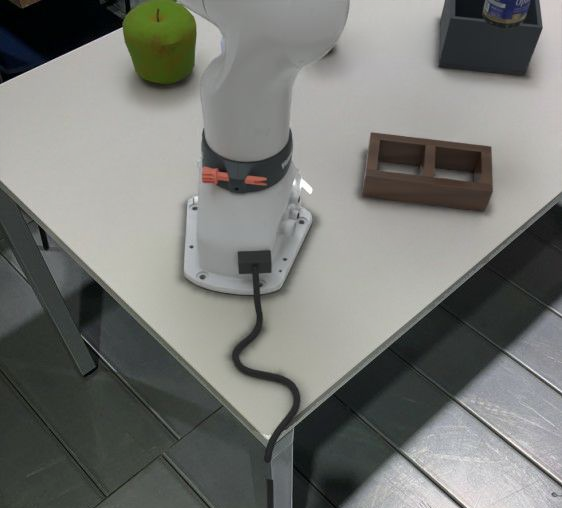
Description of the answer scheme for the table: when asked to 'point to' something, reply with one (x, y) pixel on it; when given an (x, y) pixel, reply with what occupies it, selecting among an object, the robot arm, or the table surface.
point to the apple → (161, 40)
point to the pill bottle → (505, 12)
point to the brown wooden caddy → (429, 172)
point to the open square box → (486, 39)
